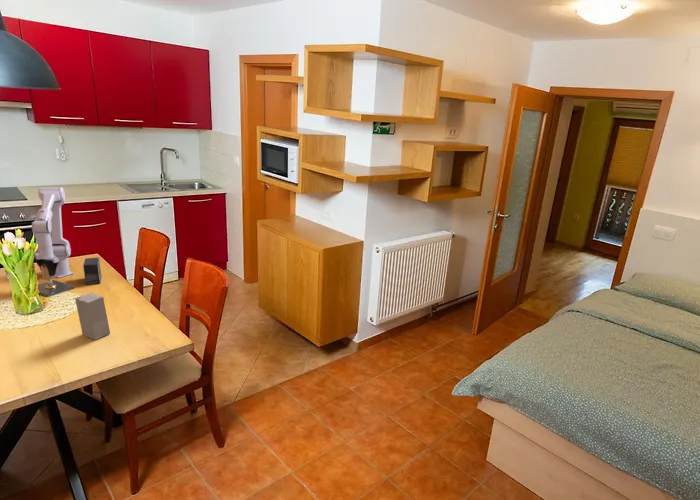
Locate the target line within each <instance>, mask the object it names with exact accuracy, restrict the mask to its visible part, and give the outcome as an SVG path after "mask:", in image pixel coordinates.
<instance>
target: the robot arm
mask: <svg viewBox="0 0 700 500" xmlns="http://www.w3.org/2000/svg"><path fill="white" fill-rule="evenodd" d="M37 193H38V198H39V200H40V201H41V207H40V208H39V209H38V210H37V213H36V216H35V220H34V221H32V222H31V230H32V233H33V237H34V238H35V243H37V244H38V249H37V248H36V249H37V251H36V252H34V253H35V256H34V255H33V256H34V258H35V259H34V262H35V263H36V264H37V266H38V268H39V270H40V271H41V265H43V264H45V265H46V267H47V269H48V272H49V275H50V276H54V275H56V277H55V278H58V279H59V278H63V277H67V276H70V275H74V274H75V273H74V271H71V270H70V266H69V265H70V264H69V257H70V256H71V254H72V252H71V251H72V248H71V244H70V242H69V240H67V239H66V238H64V237H63V223H62V222H63V220H62V206H63V205H65V204H66V193H65V189H64V187H62V186H60V187H59V186H58V187H56V186H55V187H54V186H50V187H47V186H46V187H44V186H40V187H39V188H38V191H37ZM37 244H36V245H37ZM41 273H42V271H41Z"/></svg>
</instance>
